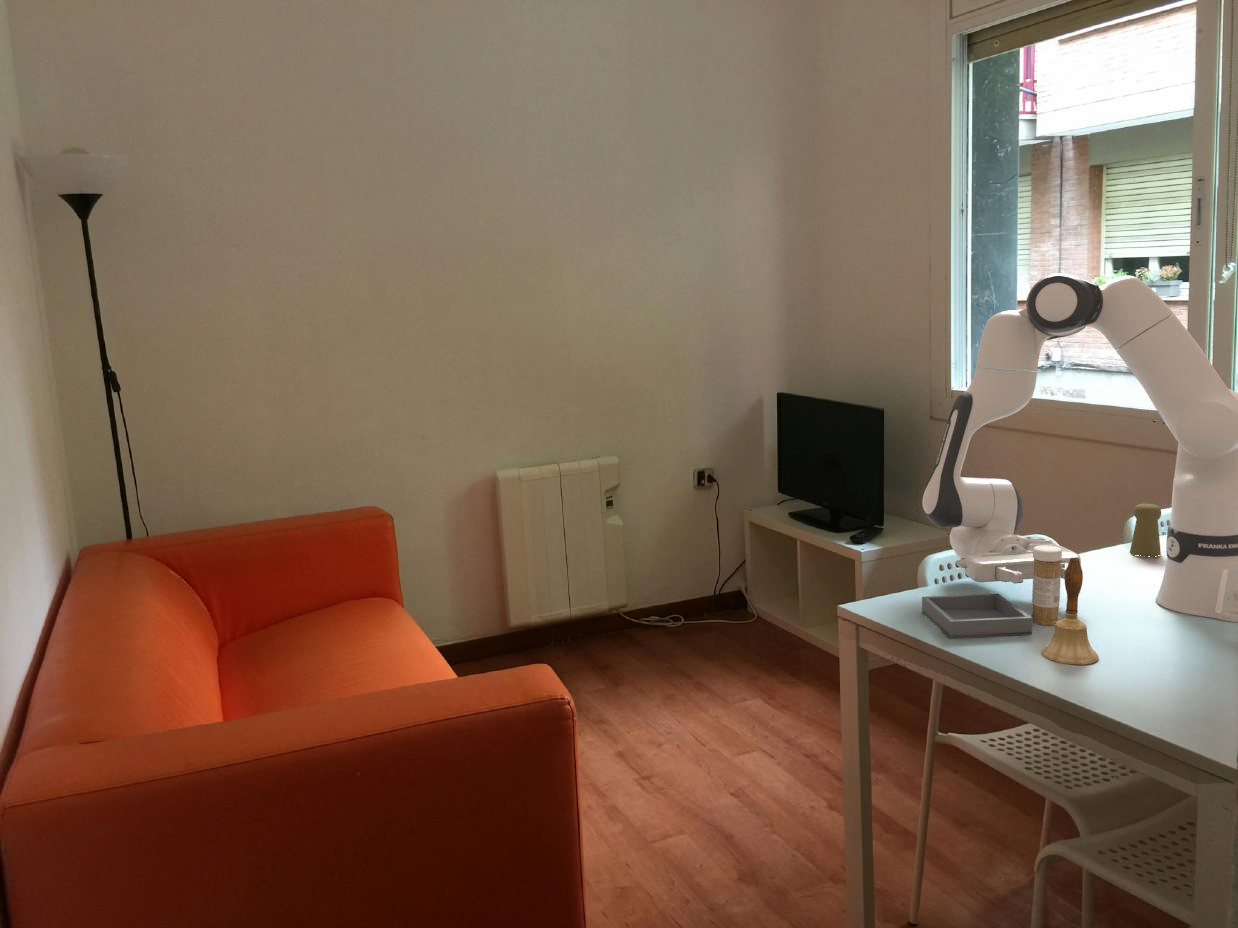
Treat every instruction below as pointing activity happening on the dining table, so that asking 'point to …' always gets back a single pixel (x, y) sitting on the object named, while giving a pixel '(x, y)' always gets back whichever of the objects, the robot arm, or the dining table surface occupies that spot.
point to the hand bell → (1071, 626)
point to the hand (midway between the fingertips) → (1044, 577)
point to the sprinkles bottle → (1046, 584)
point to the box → (976, 616)
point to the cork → (1146, 531)
